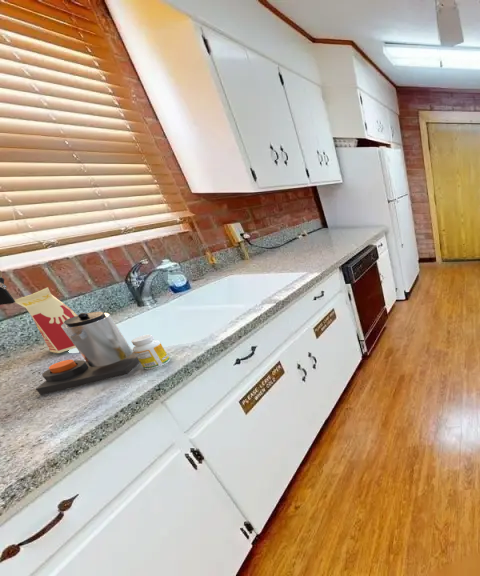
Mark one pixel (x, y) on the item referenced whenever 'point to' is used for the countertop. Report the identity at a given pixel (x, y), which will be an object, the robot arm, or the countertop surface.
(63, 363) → the power button
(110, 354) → the kettle
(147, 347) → the supplement bottle
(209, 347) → the countertop surface
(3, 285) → the robot arm
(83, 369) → the push button panel
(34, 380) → the countertop surface
